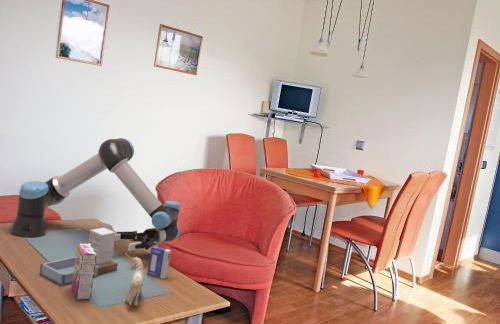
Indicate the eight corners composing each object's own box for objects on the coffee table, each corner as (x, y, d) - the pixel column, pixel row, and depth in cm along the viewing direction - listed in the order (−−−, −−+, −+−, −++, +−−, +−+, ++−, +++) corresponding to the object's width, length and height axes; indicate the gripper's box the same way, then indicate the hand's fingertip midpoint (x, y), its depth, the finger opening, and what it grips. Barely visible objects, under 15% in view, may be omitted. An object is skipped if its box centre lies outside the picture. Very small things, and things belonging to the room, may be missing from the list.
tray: (39, 274, 169) (40, 263, 168) (75, 265, 183) (76, 256, 182) (61, 285, 162) (63, 275, 162) (97, 276, 176) (98, 266, 176)
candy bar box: (70, 286, 163) (77, 243, 161) (85, 286, 165) (91, 243, 164) (75, 300, 153) (82, 253, 152) (90, 299, 156) (97, 253, 154)
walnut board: (77, 265, 183) (78, 258, 182) (96, 261, 191) (97, 254, 191) (97, 275, 177) (98, 268, 176) (116, 270, 185) (117, 263, 185)
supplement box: (99, 256, 189) (104, 227, 188) (111, 261, 186) (116, 232, 184) (85, 259, 183) (89, 229, 182) (97, 265, 179) (102, 234, 178)
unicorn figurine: (138, 287, 173) (143, 253, 172) (148, 310, 156) (154, 273, 154) (119, 286, 170) (124, 252, 169) (126, 310, 153) (132, 272, 151)
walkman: (146, 274, 187) (151, 246, 186) (149, 272, 190) (154, 245, 188) (164, 279, 185) (169, 251, 184) (167, 277, 188) (171, 249, 187)
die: (116, 242, 223) (114, 223, 227) (111, 237, 215) (109, 218, 219) (99, 245, 222) (98, 227, 226) (94, 241, 214) (92, 222, 218)
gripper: (172, 251, 205) (137, 260, 186) (134, 236, 217) (98, 243, 198) (174, 235, 204) (140, 242, 185) (136, 221, 216) (100, 226, 197)
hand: (118, 243), depth 192 cm, fingers open, 12 cm apart
